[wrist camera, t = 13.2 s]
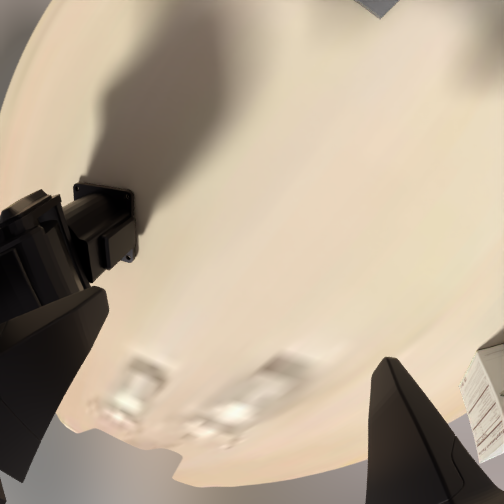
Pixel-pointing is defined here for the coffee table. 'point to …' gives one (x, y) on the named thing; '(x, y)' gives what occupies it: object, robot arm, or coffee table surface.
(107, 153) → the coffee table surface
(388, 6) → the holder
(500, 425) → the supplement box
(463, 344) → the coffee table surface
